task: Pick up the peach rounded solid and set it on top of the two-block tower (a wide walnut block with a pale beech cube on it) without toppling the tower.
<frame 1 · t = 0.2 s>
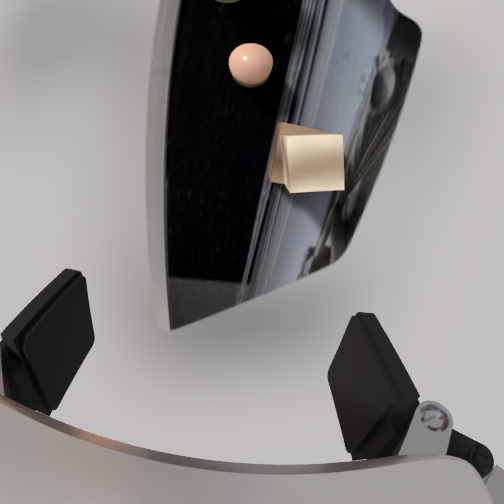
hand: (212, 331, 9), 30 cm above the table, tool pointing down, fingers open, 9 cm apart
peach rounded solid: (250, 70, 32), on the table
walnut block: (299, 154, 36), on the table, touching beech block
beech block: (306, 158, 32), point 5 cm above the table, touching walnut block
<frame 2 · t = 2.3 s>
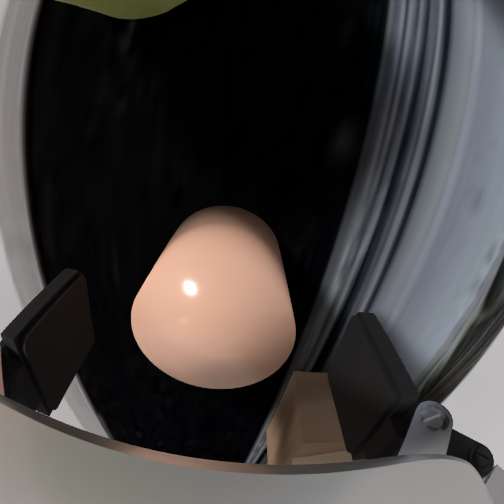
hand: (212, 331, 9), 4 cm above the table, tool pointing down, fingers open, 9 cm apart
peach rounded solid: (224, 259, 13), on the table
walnut block: (328, 405, 17), on the table
beech block: (337, 468, 13), point 5 cm above the table
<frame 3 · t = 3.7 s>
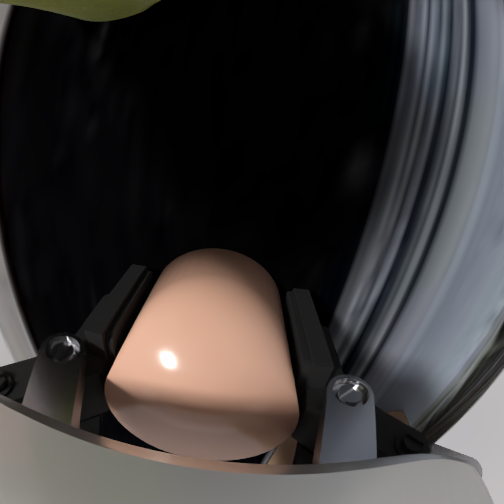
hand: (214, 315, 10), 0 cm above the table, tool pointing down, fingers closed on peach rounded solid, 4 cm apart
peach rounded solid: (216, 308, 11), on the table, touching gripper
walnut block: (331, 441, 15), on the table, touching beech block
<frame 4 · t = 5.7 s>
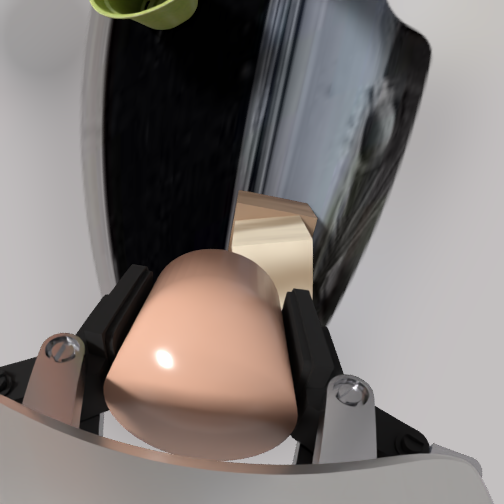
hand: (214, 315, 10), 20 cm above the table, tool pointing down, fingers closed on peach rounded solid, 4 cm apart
plant pot: (169, 6, 20), on the table
peach rounded solid: (215, 309, 11), point 20 cm above the table, touching gripper
walnut block: (266, 228, 31), on the table, touching beech block
beech block: (269, 247, 26), point 5 cm above the table, touching walnut block
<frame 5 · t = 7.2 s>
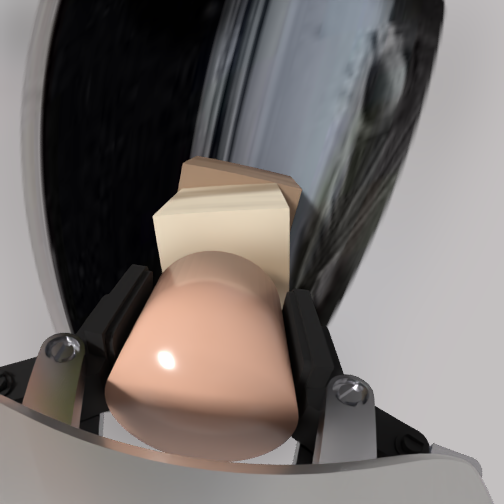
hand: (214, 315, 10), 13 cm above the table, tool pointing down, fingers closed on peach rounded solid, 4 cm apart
peach rounded solid: (215, 310, 11), point 12 cm above the table, touching gripper
walnut block: (233, 209, 22), on the table, touching beech block
beech block: (231, 230, 18), point 5 cm above the table, touching walnut block
when the fingers open (12 cm above the table, at t = 8.1 s): peach rounded solid drops 1 cm, resting on beech block.
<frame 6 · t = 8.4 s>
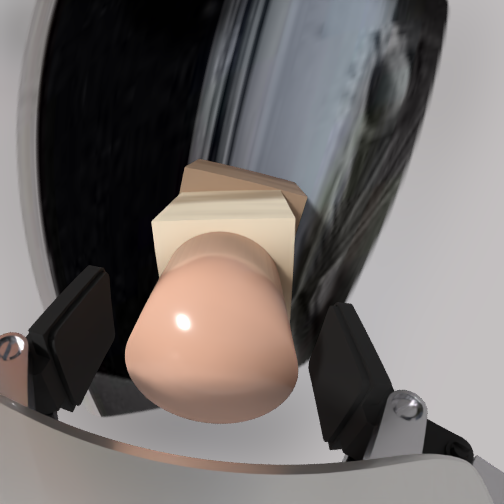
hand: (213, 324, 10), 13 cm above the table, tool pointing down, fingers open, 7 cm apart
peach rounded solid: (221, 287, 12), point 10 cm above the table, touching beech block
walnut block: (235, 215, 22), on the table
beech block: (232, 237, 17), point 5 cm above the table, touching peach rounded solid
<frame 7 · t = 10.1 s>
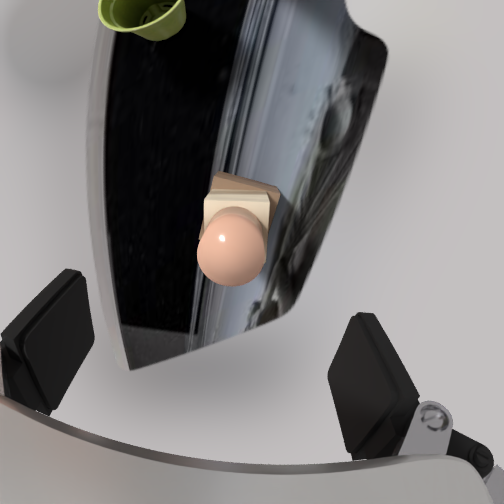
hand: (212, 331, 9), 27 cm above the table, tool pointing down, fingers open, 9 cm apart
plant pot: (163, 21, 26), on the table
peach rounded solid: (234, 233, 25), point 10 cm above the table, touching beech block
walnut block: (239, 206, 35), on the table, touching beech block
beech block: (238, 215, 30), point 5 cm above the table, touching peach rounded solid, walnut block
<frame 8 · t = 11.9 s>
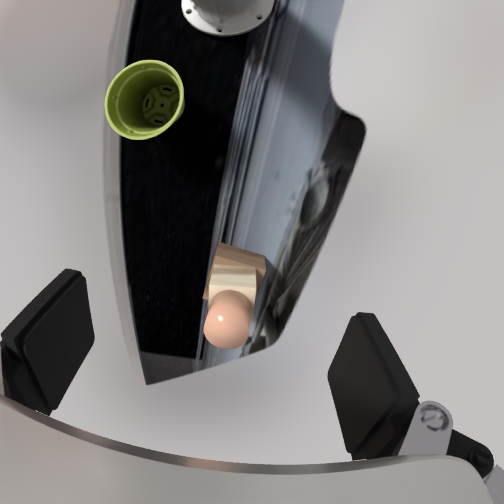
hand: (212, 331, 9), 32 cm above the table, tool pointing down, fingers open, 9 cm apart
plant pot: (163, 104, 35), on the table
peach rounded solid: (230, 306, 35), point 10 cm above the table, touching beech block
walnut block: (234, 268, 45), on the table
beech block: (233, 284, 40), point 5 cm above the table, touching peach rounded solid
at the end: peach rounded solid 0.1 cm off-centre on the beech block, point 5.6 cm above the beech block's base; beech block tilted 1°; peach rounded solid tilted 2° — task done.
